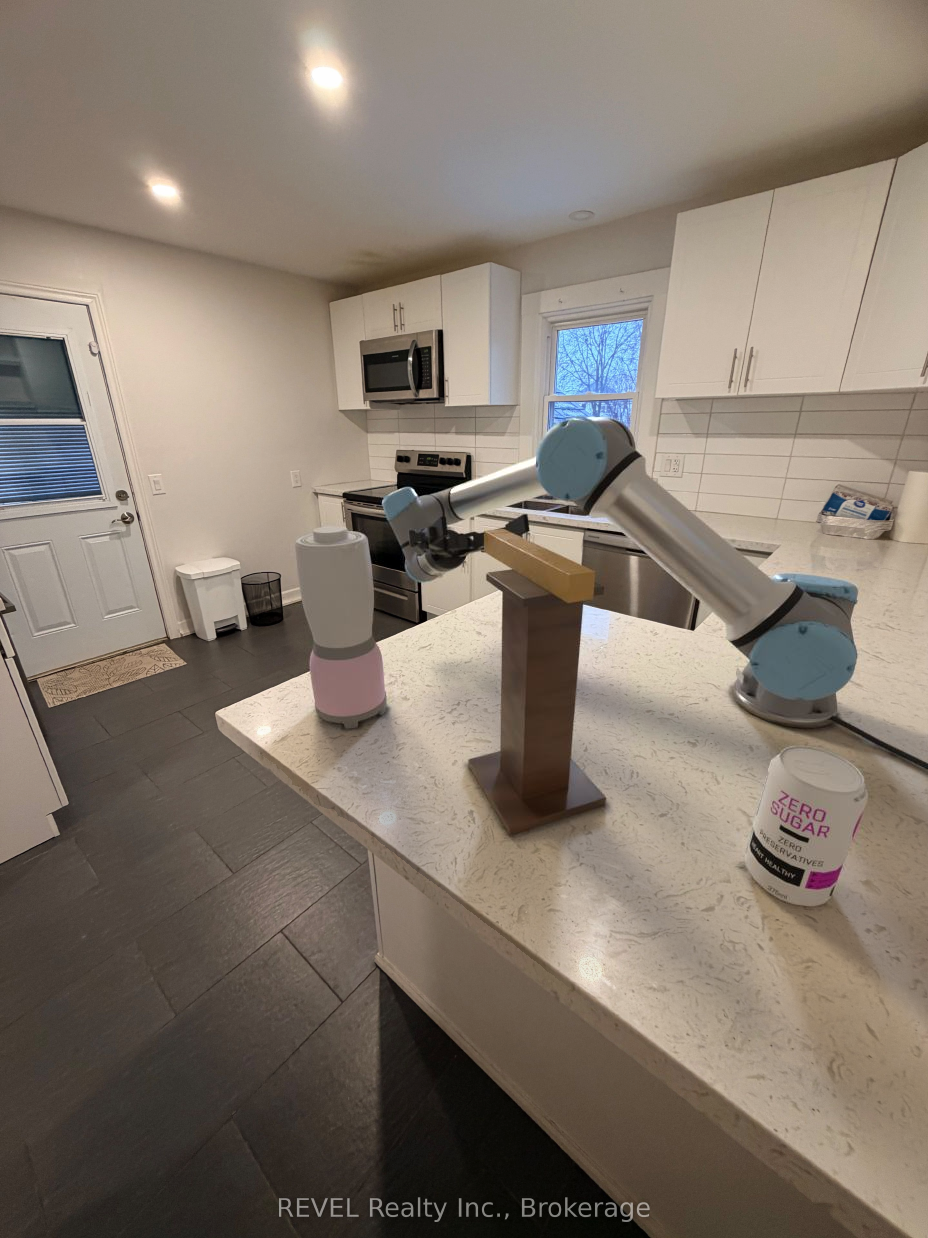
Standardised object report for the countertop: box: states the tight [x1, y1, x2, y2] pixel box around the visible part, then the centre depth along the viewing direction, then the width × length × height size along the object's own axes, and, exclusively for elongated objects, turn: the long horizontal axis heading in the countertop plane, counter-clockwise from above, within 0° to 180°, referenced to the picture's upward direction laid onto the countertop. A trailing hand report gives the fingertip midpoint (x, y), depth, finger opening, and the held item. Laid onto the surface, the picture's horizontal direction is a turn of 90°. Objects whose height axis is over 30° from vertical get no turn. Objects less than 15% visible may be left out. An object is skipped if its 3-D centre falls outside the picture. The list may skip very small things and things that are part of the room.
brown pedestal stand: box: [467, 568, 607, 836], centre depth 63 cm, size 14×14×30 cm
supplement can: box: [743, 744, 869, 907], centre depth 52 cm, size 8×8×15 cm
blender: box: [294, 525, 387, 730], centre depth 82 cm, size 16×12×32 cm
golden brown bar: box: [483, 528, 596, 603], centre depth 59 cm, size 22×3×3 cm, turn 21°
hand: (487, 523), depth 74 cm, fingers open, 13 cm apart
